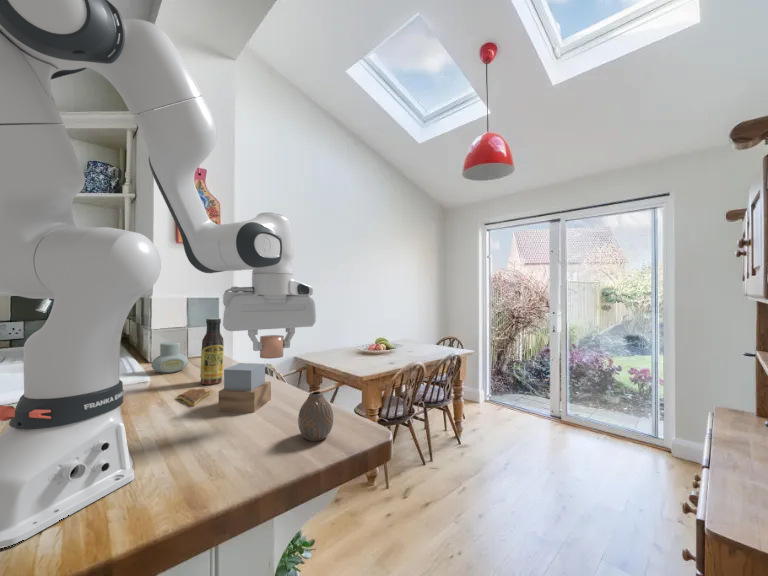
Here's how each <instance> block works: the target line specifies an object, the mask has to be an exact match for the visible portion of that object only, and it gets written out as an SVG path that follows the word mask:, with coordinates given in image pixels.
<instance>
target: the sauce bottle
mask: <svg viewBox="0 0 768 576" xmlns="http://www.w3.org/2000/svg"><path fill="white" fill-rule="evenodd" d="M205 321H206V322H205V323H206V331H205V332H206V333H205V335H204V336H203V338H202V340H201V353H200V377H199V378H200V384H202V385H208V386H209V385H210V386H211V385H217V384H219V383H220V384H221V382H222V381H223V378H224V350H225V346H224V337H223V336H222V333H221V322H222V320H221V318H219V317H215V318H214V317H211V318H210V317H208V318H206V320H205Z"/></svg>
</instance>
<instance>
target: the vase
mask: <svg viewBox="0 0 768 576" xmlns="http://www.w3.org/2000/svg"><path fill="white" fill-rule="evenodd" d="M298 412H299V413H298V416H297V422H298V424H297V426H298V429H299V433H300V434H301V436H302V437H303V438H305V439H306V440H307V441H309V440H310V441H311V442H318V440H319V441H322V440H324V439H325V438H327V437H328V435H329V434H330V433H331V431H332V429H333V426H334V418H335V417H334V411H333V408H332V406H331V404H330V403H329V401H328V400H327V399H326V398H325V397H324V394H323V392H322V391H318V390H317V391H311V392H310V393H309V394H308V397H307V398H306V400H305V401H304V402H303V404H302V405H301V407H300V409H299V411H298Z"/></svg>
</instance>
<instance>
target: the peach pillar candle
mask: <svg viewBox="0 0 768 576" xmlns="http://www.w3.org/2000/svg"><path fill="white" fill-rule="evenodd" d="M284 339H285V337H284V335H281V334H279V335H278V334H276V335H275V334H270V335H269V334H268V335H261V336H259V342H262V343H263V346H262V350H261V351H259V358H260V359H265V360H266V359H269V360H271V359H281V358H283V357H284V348H283V346H284Z"/></svg>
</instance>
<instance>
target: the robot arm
mask: <svg viewBox="0 0 768 576" xmlns="http://www.w3.org/2000/svg"><path fill="white" fill-rule="evenodd" d="M122 17H123V16H122V15H121V13H120V11H119V9H117V7H116V6H115V5H113V4H112V2H110V1H109V0H0V292H2V293H6V294H8V295H9V294H10V295H14V296H18V297H23V298H27V299H35V300H36V299H37V300H38V299H41V300H42V299H43V300H44V299H47V300H48V299H49V300H50V299H52V300H53V303H52V307H51V310H50V313H49V316H48V318H47V319H46V321H45V323H44V324H43V326H42V327H41V328H40V329H38V330H37V331H35V332H33V333H32V334H31V335H30V336H29V337H27V338H26V341H25V342H24V345H23V348H22V349H23V353H22V354H23V394H22V395H21V396H19V397H20V398H19V399H18V401H17V403H16V406H13V405H0V421H1V422H6V421H9V423H8V426H9V427H8V428H6V429H5V431H3V433H1V434H0V546H1V547H2V546H10V545H13V544H15V543H18V542H19V541H22V540H24V541H26V540H28V539H30V538H31V537H33V536H34V535H36V534H38V533H40V532H42V531H43V530H45V529H47V528H49V527H51V526H53V525H54V524H56V523H58V522H60V521H61V519H62V520H63V518H64V519H66V518H67V517H69V516H71V515H72V514H74V513H76V512H78V511H80V510H82V509H84V508H85V507H87V506H89V505H91V504H92V503H94V502H97V501H98V500H99V499H101V498H102V497H105V496H107V495H109V494H110V493H112V492H114V491H116V490H118V489H119V488H121V487H123V486H125V485H126V484H129V483H130V482H132V481H134V480H135V471H134V469H133V464H134V462H133V459H132V456H131V454H130V451H129V447H128V441H127V433H126V428H125V424H124V419H123V415H122V410H121V409H122V407H121V405H122V404H124V394H125V392H124V387H123V386H124V384H123V383H124V382H123V381H122V380H121V379H120V364H121V363H120V360H121V359H120V358H121V357H120V356H121V341H122V333H123V329H124V326H125V323H126V320H127V318H128V317H129V313H130V312H131V310H132V308H133V307H134V305H135V304H136V302H137V301H138V300H139V299H140V298H141V297H142V296H143V295H144V294H145V293H147V292H148V291H150V290H151V289H152V288H153V287H154V285H155V284H156V282H157V281H158V279H159V277H160V274H161V268H162V261H161V257H160V256H161V255H160V253H159V250H158V249H157V247H156V246H155V243H153V241H152V240H150V238H148V237H147V236H146V235H144V234H142V233H139V232H135V231H130V230H127V229H126V230H125V229H121V228H114V227H108V226H103V227H102V226H99V227H98V226H95V227H77V225H76V224H75V221H74V217H73V202H74V198H75V197H76V196H77V195H78V194H80V192H81V191H82V190H83V188H84V187H85V184H86V177H85V173H84V171H83V168H82V165H81V163H80V162H79V158H78V156H77V154H76V151H75V148H74V146H73V144H72V141H71V139H70V136H69V134H68V130H67V128H66V126H65V124H64V121H63V118H62V115H60V112H59V109H58V107H57V104H56V102H55V99H54V95H53V92H52V86H51V80H54V79H57V78H62V77H65V76H68V75H73V74H77V73H80V72H82V71H83V72H84V71H85V70H86V69H90V70H93V71H94V72H96V73H98V74H100V75H101V76H102V77H104V78H105V79H106V80H107V81H108V82H109V83H110V84H111V85H112V86H113V88H114V89H115V90H116V91H117V93H118V94H119V96H120V97H121V98H122V100H123V102H124V104H125V105H126V107H127V110H128V111H129V112H130V115H131V116H132V117H133V119H134V121H135V123H136V124H137V127H138V129H139V130H140V132H141V134H142V137H143V140H144V143H145V145H146V147H147V152H148V165H149V168H150V171H151V173H152V174H151V175H152V176H153V178H154V181H155V183H156V186H157V187H158V190H159V192H160V194H161V196H162V198H163V200H164V202H165V204H166V206H167V208H168V210H169V213H170V215H171V217H172V219H173V220H174V224H175V225H176V227H177V229H178V231H179V233H180V237H181V241H182V245H183V249H184V252H185V256H186V258H187V260H188V262H189V263H190V264H191V265H192V267H194V268H195V269H196V270H198V271H200V272H201V273H206V274H216V273H220V272H221V273H222V272H228V271H229V272H231V271H232V272H233V271H234V272H235V271H245V270H246V271H247V270H248V271H249V270H252V271H251V274H252V275H251V286H231V287H230V288H228V289H226V290H225V291H224V292H223V295H222V296H223V297H222V298H223V300H222V301H223V305H224V310H223V311H224V312H223V318H222V319H223V320H222V327H223V328H224V329H225V330H226V331H228V332H241V331H247V336H248V337H249V339H250V341H251V342H252V350H253V351H254V352H260V351H261V350H262V346H263V343H262V342H260V341H259V340H258V338H257V337H256V336H258V333H259V332H258V331H259V330H260V331H261V330H275V329H276V330H277V329H285V333H286V335H285V337H284V346H283V349H289V348H291V340H292V338H293V336H294V335H295V333H296V328H309V327H311V328H312V327H314V325H315V324H316V322H317V315H316V314H317V313H316V311H317V310H316V303H315V300H314V298H313V297H312V295H313V294H314V287H313V286H311V285H308V284H306V283H303V282H301V281H298V280H296V279H294V271H293V267H292V266H293V265H292V263H293V259H294V234H293V228H292V223H291V222H290V220H289V219H288V218H287V217H286V216H284V215H282V214H279V213H274V212H261V213H258V214H257V215H256V216H255V217H253V218H251V219H248V220H244V221H237V222H231V223H222V224H217V223H215V222H214V221H212V219H210V217H209V215H208V213H207V210H206V208H205V206H204V203H203V201H202V199H201V196H200V194H199V192H198V190H197V187H196V183H195V174H196V171H197V170H198V168H199V167H200V165H201V164H202V163H203V162H204V161H205V160H206V159H207V158H208V157H209V156H210V155H211V153H212V152H213V150H214V148H215V145H216V142H217V137H218V131H217V126H216V122H215V118H214V116H213V114H212V110H211V109H210V107H209V104H208V103H207V100H206V99H205V97H204V96H203V92H202V91H201V89H200V86H199V85H198V83H197V81H196V79H195V77H194V75H193V73H192V72H191V70H190V68H189V65H187V63H186V62H185V60H184V58H183V56H182V55H181V53H180V52H179V50H178V49H177V47H176V46H175V44H174V43H173V41H172V40H171V39H170V37H169V36H168V35H167V32H165V31H164V30H163V29H162V28H160V27H159V26H158V25H156V24H155V23H153V22H151V21H147V20H145V19H140V18H139V19H138V18H122ZM68 515H69V516H68ZM59 520H60V521H59ZM22 542H23V541H22ZM18 544H19V543H18ZM13 546H14V545H13ZM10 547H11V546H10Z"/></svg>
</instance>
